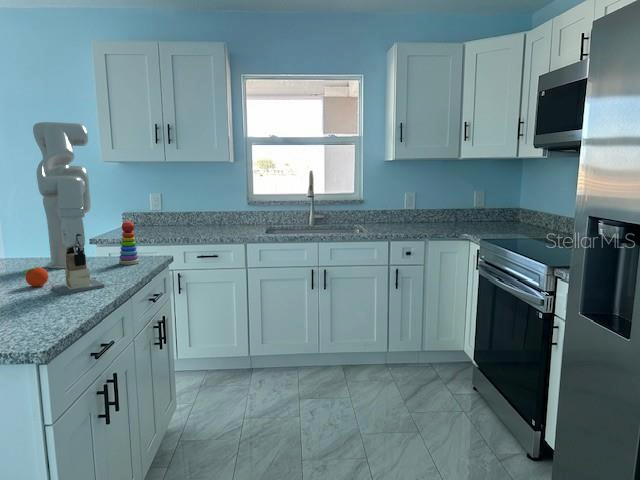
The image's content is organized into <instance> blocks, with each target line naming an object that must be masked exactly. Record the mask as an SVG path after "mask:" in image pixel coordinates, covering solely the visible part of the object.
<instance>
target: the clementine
mask: <svg viewBox="0 0 640 480" xmlns="http://www.w3.org/2000/svg"><path fill="white" fill-rule="evenodd" d="M22 277H25V278H24V279H25V282H26V283H27V284H28V285H29V286H32V287H34V288H35V287H37V288H38V287H42V286H43V285H45V284H46V283H47V281H48V280H49V274H48V271H47V270H46V269H44V267H43V268H42V267H39V266H35V267H31V268H28V269H27V270H25V272H23V275H22Z"/></svg>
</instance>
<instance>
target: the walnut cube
mask: <svg viewBox="0 0 640 480" xmlns="http://www.w3.org/2000/svg"><path fill="white" fill-rule="evenodd" d="M65 255H66V266H67V269H68V270H70V271H74V270H81V269H87V268H88V267H87V257H86V254H85V265H82V266H75V261H74V255H75V253H73V254H65Z"/></svg>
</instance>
